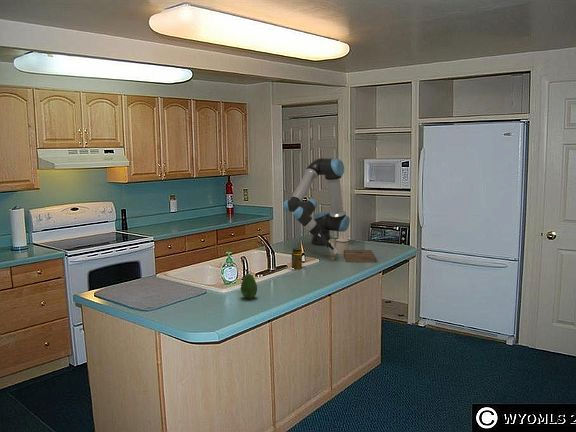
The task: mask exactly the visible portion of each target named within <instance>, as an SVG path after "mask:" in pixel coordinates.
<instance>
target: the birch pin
mask: <svg viewBox="0 0 576 432" xmlns="http://www.w3.org/2000/svg"><path fill="white" fill-rule="evenodd" d="M336 239H337V238H331V239H330V244H332V245H333V246H334V247H335V246H336V243H335V241H336ZM329 260H332V261H335V260H336V254H334V253H333V252H332V251H331V250H330V249H329Z"/></svg>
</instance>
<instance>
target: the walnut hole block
mask: <svg viewBox="0 0 576 432" xmlns="http://www.w3.org/2000/svg"><path fill="white" fill-rule="evenodd" d="M343 259H344V261H345V263H375V262H376V260H375V259H376V255H375V253H374V252H373V250H372V249H349V250H344V254H343Z"/></svg>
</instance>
